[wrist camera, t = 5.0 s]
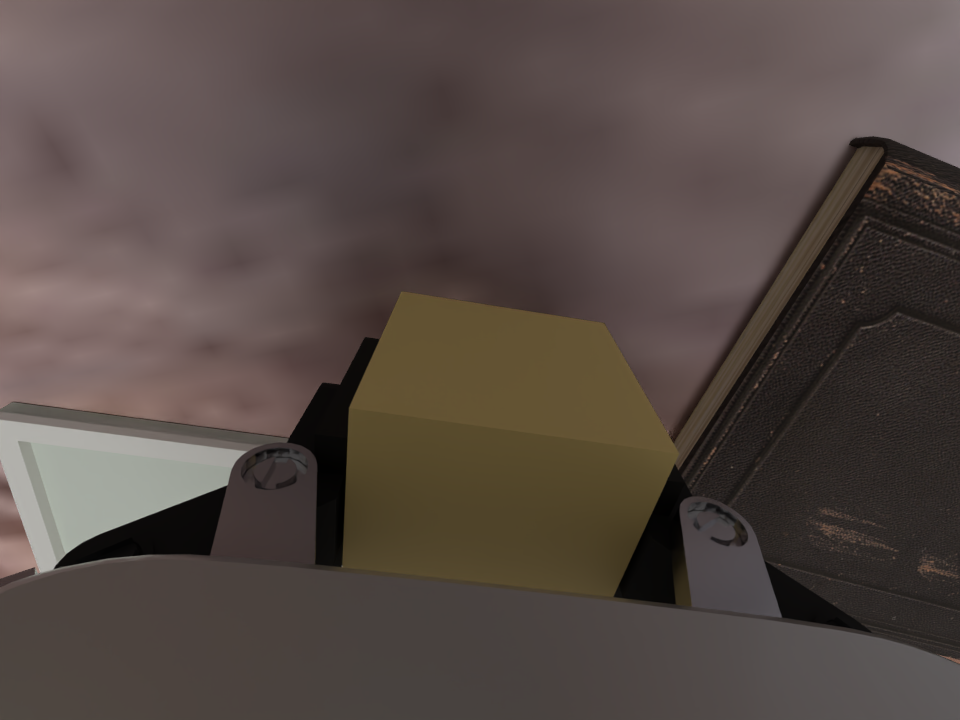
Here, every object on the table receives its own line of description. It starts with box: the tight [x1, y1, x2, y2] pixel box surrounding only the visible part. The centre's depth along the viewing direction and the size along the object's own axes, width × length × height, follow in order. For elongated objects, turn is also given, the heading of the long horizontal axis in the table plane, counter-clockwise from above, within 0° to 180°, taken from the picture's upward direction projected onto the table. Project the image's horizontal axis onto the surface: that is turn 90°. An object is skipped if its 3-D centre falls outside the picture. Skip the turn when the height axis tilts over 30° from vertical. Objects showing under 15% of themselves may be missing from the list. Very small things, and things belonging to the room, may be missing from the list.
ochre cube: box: [342, 291, 679, 597], centre depth 10 cm, size 5×5×5 cm
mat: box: [0, 402, 289, 573], centre depth 19 cm, size 12×12×1 cm
